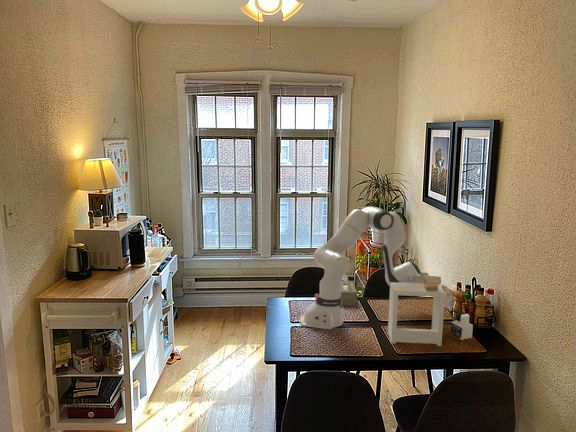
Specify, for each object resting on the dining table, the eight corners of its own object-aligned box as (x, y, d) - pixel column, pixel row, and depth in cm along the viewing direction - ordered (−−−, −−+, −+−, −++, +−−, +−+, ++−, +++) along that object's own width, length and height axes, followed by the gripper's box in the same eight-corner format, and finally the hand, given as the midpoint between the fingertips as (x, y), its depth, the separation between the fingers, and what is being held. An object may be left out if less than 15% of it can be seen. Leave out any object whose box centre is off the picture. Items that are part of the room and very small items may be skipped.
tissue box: (336, 294, 278) (337, 269, 275) (352, 294, 278) (353, 269, 275) (339, 305, 260) (340, 279, 257) (356, 305, 260) (357, 279, 257)
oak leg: (437, 291, 208) (438, 281, 207) (426, 290, 208) (427, 281, 207) (428, 278, 226) (429, 269, 225) (418, 278, 227) (419, 269, 226)
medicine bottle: (450, 335, 222) (451, 312, 220) (461, 332, 225) (463, 309, 222) (460, 341, 215) (462, 317, 213) (472, 338, 218) (474, 315, 216)
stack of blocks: (432, 298, 272) (433, 278, 270) (441, 297, 273) (443, 278, 271) (451, 312, 251) (453, 290, 249) (461, 311, 252) (463, 290, 250)
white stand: (391, 343, 212) (393, 290, 208) (387, 332, 224) (390, 282, 220) (441, 345, 210) (445, 292, 206) (435, 334, 222) (438, 283, 218)
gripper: (398, 276, 243) (402, 270, 230) (437, 277, 241) (443, 271, 228) (398, 287, 240) (402, 282, 227) (437, 289, 239) (444, 284, 226)
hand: (423, 277), depth 228 cm, fingers open, 8 cm apart
